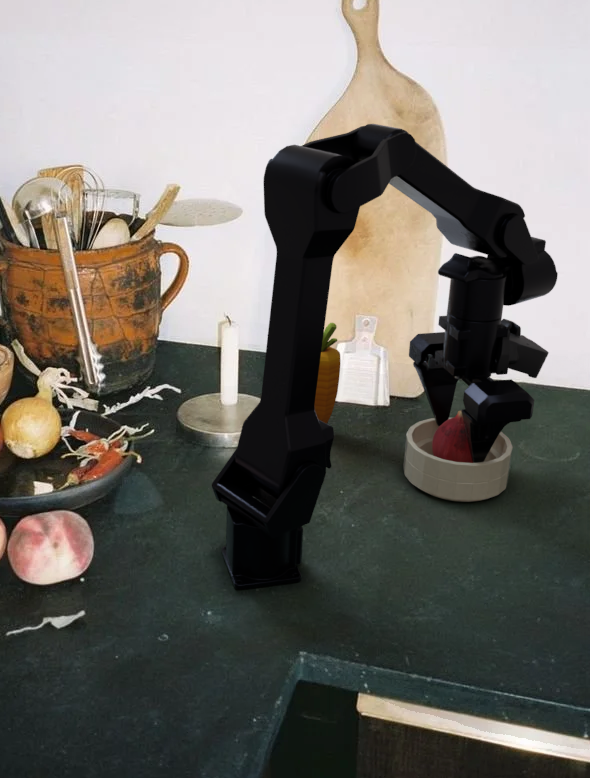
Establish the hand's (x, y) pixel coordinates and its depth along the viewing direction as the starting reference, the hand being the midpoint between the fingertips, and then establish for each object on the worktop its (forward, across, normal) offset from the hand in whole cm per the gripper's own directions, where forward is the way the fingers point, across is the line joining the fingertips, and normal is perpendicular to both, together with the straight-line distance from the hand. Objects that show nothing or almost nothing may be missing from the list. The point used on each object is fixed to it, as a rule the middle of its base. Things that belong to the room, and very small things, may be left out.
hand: (459, 443), depth 105 cm
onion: (+4, 0, 0) cm, 4 cm away
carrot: (+5, +14, +12) cm, 19 cm away
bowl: (+4, 0, 0) cm, 5 cm away
